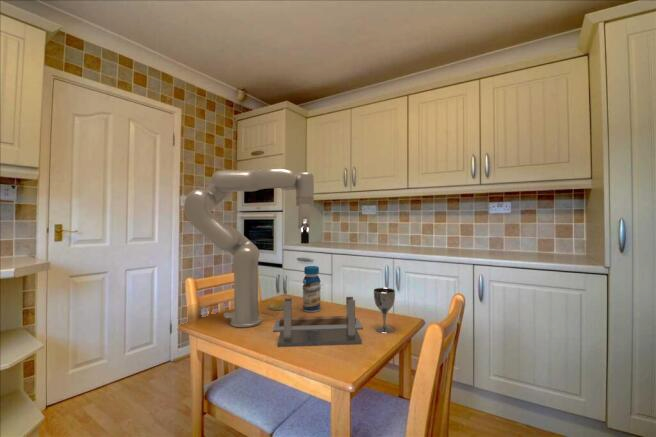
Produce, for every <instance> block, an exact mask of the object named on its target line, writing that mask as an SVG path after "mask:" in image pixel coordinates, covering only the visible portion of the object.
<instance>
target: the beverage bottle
mask: <svg viewBox="0 0 656 437" xmlns="http://www.w3.org/2000/svg"><path fill="white" fill-rule="evenodd" d="M303 272H304V278H303V280H302V283H303V285H302V310H303V311H304V312H307V313H316V312H317V313H318V312H319V311H320V310H321V306H322V305H321V290H322V286H321V278H320V277H319V274H320V266H317V265H316V266H315V265H308V266H307V265H306V266H305V267H304V271H303Z"/></svg>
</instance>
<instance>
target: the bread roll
mask: <svg viewBox="0 0 656 437" xmlns="http://www.w3.org/2000/svg"><path fill="white" fill-rule="evenodd" d="M284 302H285V300H283V299H272V300H270V301H269V302H268V304H267V309H269V311H270V310H271V311H284Z"/></svg>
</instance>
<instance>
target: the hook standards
mask: <svg viewBox="0 0 656 437" xmlns="http://www.w3.org/2000/svg"><path fill="white" fill-rule="evenodd" d="M292 300H293V298H292V297H287V298H284V301H285V302H284V309H283V318H284V332H279V336H278V340H277V347H279V348H281V347H305V346H306V347H307V346H330V345H331V346H337V345H338V346H339V345H343V346H344V345H358V344H359V345H361V344H363V343H362V342H363V339H362V338H361V336H360V334H359V331H358V329H355V317H356V299H354V297H353V296H346V297H345V302H346V304H345V308H346V310H345V316H346V330H320V331H292V317H293V315H292V314H293V311H292V310H293V309H292V307H293V306H292V304H293V301H292Z"/></svg>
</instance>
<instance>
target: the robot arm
mask: <svg viewBox="0 0 656 437" xmlns="http://www.w3.org/2000/svg"><path fill="white" fill-rule="evenodd" d="M314 180H315V178H314V174H313V173H312V172H307V171H305V172H301V171H300V172H298V173H294V172H293V171H292V170H290V169H284V168H283V169H282V168H281V169H280V168H278V169H276V168H272V169H270V168H269V169H267V168H266V169H255V170H253V169H252V170H228V169H227V170H217V171H215V172H214V173H213V174H212V176H211V178H210V181H211V183H210V184H209V185H208V186H207V187H206V188H204V189H194V190H192V191H190V192H189V193H188V194H187V195H186V197H185V200H184V207H183V209H184V214H185V217H186V218H187V220H188V222H190V224H191V225H192V226H193V227H194V228H195V229H196V230H198V231H199V232H200V233H201V234H202V235H203V236H204V237H206V239H207V240H208V241H210V242H211V243H212V244H213V245H215V247H217V249H219V250H221V251H225V252H226V251H227V252H228V253H230V254H231V256H233V258H232V262H233V263H232V265H233V283H234V284H233V293H234V295H233V298H234V299H233V300H234V301H233V302H234V303H233V305H234V306H233V310H234V311H231V312H223V318H225V320H228V319H230V321H229V322H230V325H231V326H232V327H235V328H251V327H255V326H258V325H260V324H261V323H262V322H263V317H262V316H261V315H259V267H258V266H259V258H260V250H259V249H258V247H257V245H255V244H254V243H253V241H251V240H250V239H249V238H247V237H246V236H245V234H243V233H242V232H240V231H239V230H238V229H237V228H234V227H231V226H230V227H229V226H227V225H226V224H225V223H224V222H223V221H221V220H220V218H218V217H217V216H216V215H215V214H213V213H212V210H213V209H215V208H216V207H217V206H219V205H220V203H222V202H223V201H224V200H225V199H226V198H227V197H228V196H229V195H230V194H231V193H232V192H256V191H259V190H264V189H280V190H282V191H295V206H298V207H297V208H298V210H297V226H298V227H297V228H298V230H301V233H300V244H302V245H303V244H310V234H309V233H310V232H309V229H311V223H312V222H311V220H312V206H314V204H315V203H314V200H315V199H314V198H315V196H314V192H315V191H314V190H315V186H314V185H315V184H314V182H315V181H314Z"/></svg>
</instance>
